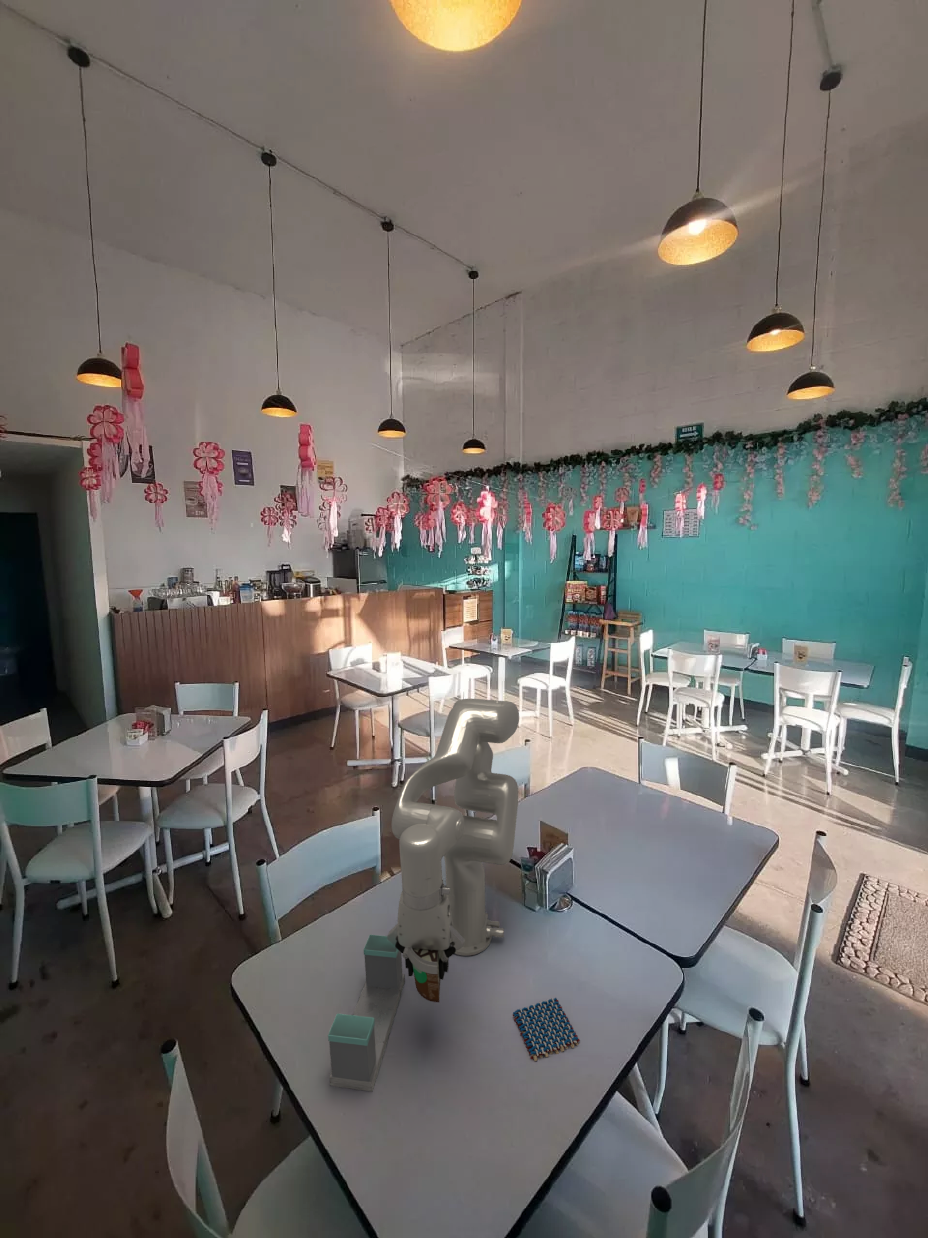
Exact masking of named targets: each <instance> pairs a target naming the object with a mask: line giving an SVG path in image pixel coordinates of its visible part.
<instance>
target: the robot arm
mask: <svg viewBox="0 0 928 1238" xmlns="http://www.w3.org/2000/svg"><path fill="white" fill-rule="evenodd" d="M519 722H520V712H519V709H518V707H517V705H516V704H515V703H514V702H512V701H507V700H506V701H505V700H497V699H495V700H494V699H483V698H481V699H480V698H463V699H458V700H457V701H455V702H454V704H453V706H452V708H451V709H450V710H449V713H448V715H447V718H446V720H445V723H444V727H443V730H442V733H441V735H440V740H439V743H438V746H437V747H436V752H435V754H434V756H433V757H432V758H430V759H429V760H428V761H426V762H425V763H423V764H421V766H419V767H418V768H417V769H416V770H415V771H414V772H413V773H412V774H411V775H409V777H408V778H407V779H406V781H405V782H404V784H403V785H402V788H401V790H400V793H399V795H398V799H397V801H396V804H395V807H394V810H393V813H392V818H391V830H392V834H393V836H394V837H395V838H396V839H398V840H399V857H400V871H401V872H400V873H401V889H402V890H401V892H400V895H399V896H400V897H399V901H398V908H397V909H398V911H397V923H396V924H395V926H393V927H392V929H390V930H389V931H388V933H387V940H388V941H390V942H391V943H392V944H393V945H395V947H396V948H397V949H398V950H399V951H400V952H401V954H402V957H403V958H404V963H405V969H407V974H408V977H412V976H414V972H413V964H412V963H411V961H410V959H409V957H408V953H407V950H408V947H409V948H411V947H412V948H418V949H429V950H438V953H439V956H440V959H439V977H440V980H445V979H444V977H445V973H448V972H449V965H450V963H449V959H450V958H451V957H452V956H453V955H454V954H455V955H457V956H463V957H464V956H467V957H468V956H474V955H477V954H480V953H482V952H483V951H485V950H486V949H487V948H488V947H489V945H491V942H492V939H493V937H496V938H504V934H505V932H504V931H505V928H504V927H500V921H499V920H498V921H495V920H494V921H492V920H491V919H489V914H488V912H486V873H485V867H484V864H483V863H485V864H490V865H491V864H492V865H498V866H504V865H507V864H508V863H509V862H510V861H511V860H512V856H513V853H514V852H513V851H514V846H515V836H516V829H517V828H516V827H517V818H518V817H517V816H518V810H519V809H518V808H519V785H518V781H516V779H515V778H514V777H513V776H511V775H509V774H506V773H505V774H503V773H495V772H492V766H493V759H494V752H493V750H492V746H491V745H490V743H491V744H503V743H505V742H507V741H508V740H509V739H510V738H512V736H513V735H514V734H515V733H516V732H517V729H518V726H519ZM454 780H455V783H454V792H453V801H454V803H455V805H456V806H457V807H458V808H460V809H462V810H466V811H470V812H471V811H472V812H478V813H485V814H493V815H495V816H496V819H489V818H483V817H478V816H470V815H463V813H462V811H460V810H459V809H458V808H454V807H452V806H451V807H450V806H445V805H438V804H431V803H425V802H418V801H419V799H421V796H422V795H423V794H424V793H426V792H427V791H428V790H430V789H432V788H434V787H437V786H439V785H441V784H442V785H443V784H445V783H447V782H450V781H451V782H452V781H454ZM443 858H444V868H445V883H444V879H443V870H442V867H443V866H442V859H443Z"/></svg>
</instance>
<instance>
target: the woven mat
mask: <svg viewBox="0 0 928 1238" xmlns="http://www.w3.org/2000/svg"><path fill="white" fill-rule="evenodd" d="M512 1017H514V1018H513V1020H514V1022H515V1023H516V1026H517V1028H518V1031H520V1036H521V1038H522V1039H523V1042H524V1044H525V1047H526V1050H528V1054H529V1055H530V1056H529V1058H530V1060H533V1061H534V1062H537V1061H538V1058H540V1059H542V1058H543V1055H544V1057H545V1058H548V1057H549V1054H550V1055H553V1054H554V1053H553V1052H555V1054H556V1055H558V1054H560V1052H561V1053H562V1052H564V1051H565V1050H567V1049H569V1046H570V1048H572V1049H573V1048H575V1045H576V1046H579V1042H580V1041H581V1040H580V1038H579V1037H578V1035H577V1032H576V1031H575V1030H574V1027H573V1025H572V1024H571V1022H570V1020H569V1018H568V1016H567V1015H566V1013H565V1011H564V1010H563V1006H561V1004H560V1003H559V999H558V998H557V997H554V998H552V997H550V998H549V999H546V1000H545V1001H543V1000H541V1002H540V1001H539V1002H536V1004H533V1003H532V1004H530V1005H529V1006H528V1005H527V1006H526V1007H522V1008H517V1009H516V1010H515V1011H513V1012H512Z"/></svg>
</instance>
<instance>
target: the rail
mask: <svg viewBox="0 0 928 1238" xmlns="http://www.w3.org/2000/svg"><path fill="white" fill-rule="evenodd" d="M405 982H406V975H405V973H403V972H402V976H401V980H400V983H399V986H398V989H392V988H383V987H374V986H366V981H365V983H364V985H363V988H362V991H361V992H360V995H359V998H358V1001H357V1003H356V1005H355V1008H354V1011H353V1014H352V1015H354V1016H362V1017H371V1018H374V1020H375V1024H374V1032H375V1049H376V1062H375V1065H374V1068H373V1071H372V1075H371V1078H370V1081H369V1082H365V1081H358V1080H351V1079H343V1078H336V1077H332V1070H331V1071H330V1073H329V1086H330V1087H335V1088H344V1089H352V1090H356V1091H357V1090H358V1091H364V1092H371V1093H372V1092H373V1091H374V1087H375V1084H376V1081H377V1078H378V1074H379V1071H380V1067H381V1064H382V1060H383V1058H384V1054H385V1050H386V1047H387V1043H388V1040H389V1037H390V1034H391V1029H392V1027H393V1023H394V1019H395V1016H396V1012H397V1011H398V1006H399V1003H400V999H401V996H402V993H403V989H404V985H405Z"/></svg>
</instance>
